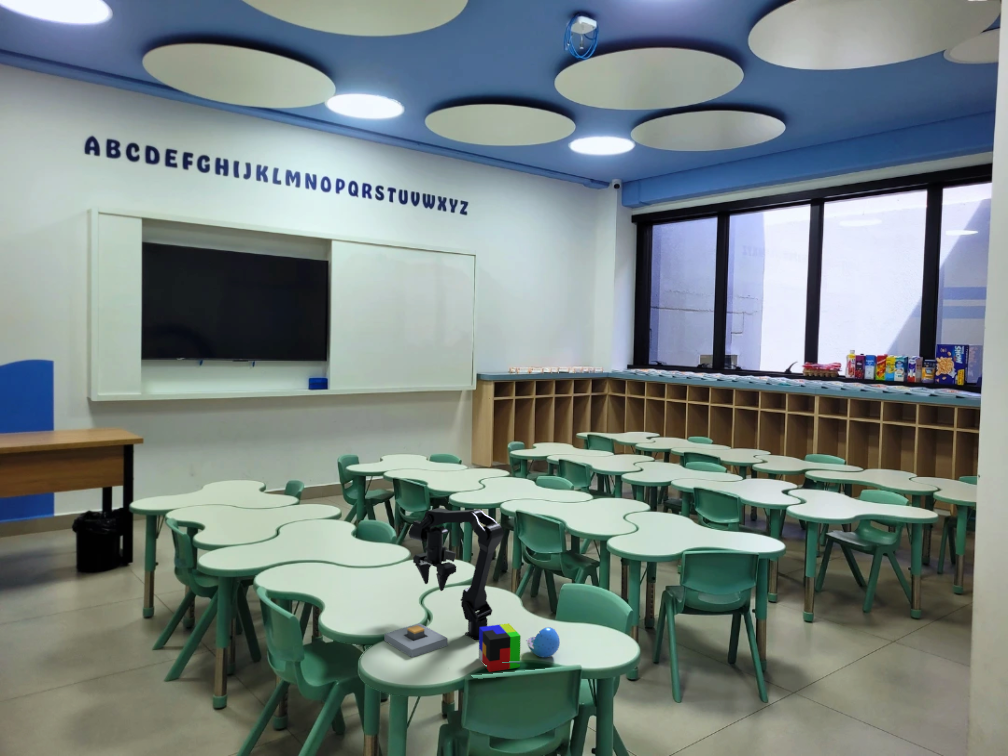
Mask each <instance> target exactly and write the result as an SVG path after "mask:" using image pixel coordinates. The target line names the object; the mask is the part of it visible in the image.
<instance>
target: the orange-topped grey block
mask: <svg viewBox="0 0 1008 756" xmlns="http://www.w3.org/2000/svg"><path fill="white" fill-rule="evenodd" d="M407 638H409V639H411V640H412V641H416V640H419V639H422V638H424V628H422V627H420V626H418V625H416V626H413V627H410V628H407Z"/></svg>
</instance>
